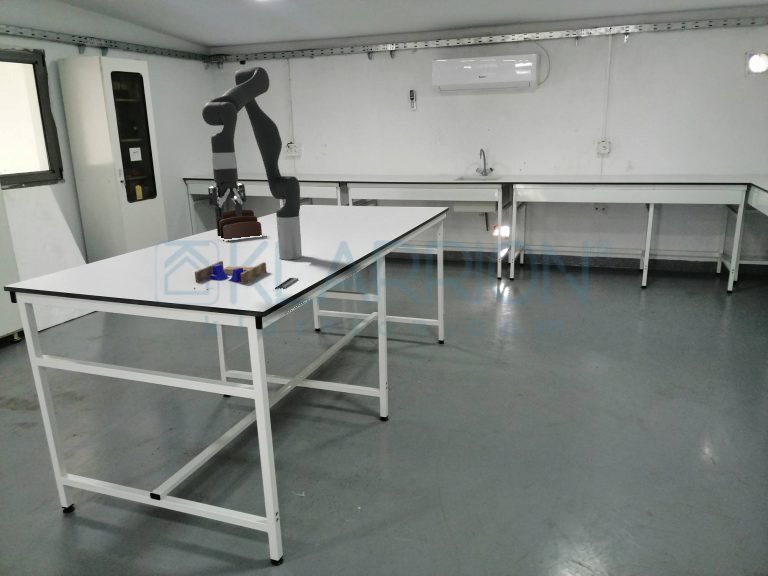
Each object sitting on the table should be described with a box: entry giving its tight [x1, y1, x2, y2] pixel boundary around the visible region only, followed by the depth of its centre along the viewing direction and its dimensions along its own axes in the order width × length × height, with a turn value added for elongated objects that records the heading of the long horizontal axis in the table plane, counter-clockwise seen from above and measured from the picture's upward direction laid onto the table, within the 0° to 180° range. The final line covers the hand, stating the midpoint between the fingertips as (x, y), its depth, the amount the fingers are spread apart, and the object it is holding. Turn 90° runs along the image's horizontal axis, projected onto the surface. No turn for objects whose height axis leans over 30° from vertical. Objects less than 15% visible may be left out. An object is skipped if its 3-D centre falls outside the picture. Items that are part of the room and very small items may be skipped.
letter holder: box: [215, 209, 263, 239], centre depth 278 cm, size 10×20×14 cm, turn 124°
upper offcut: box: [223, 265, 254, 276], centre depth 198 cm, size 5×11×2 cm, turn 79°
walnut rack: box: [194, 260, 268, 285], centre depth 193 cm, size 17×18×5 cm
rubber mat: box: [275, 277, 299, 289], centre depth 189 cm, size 12×11×1 cm
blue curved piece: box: [209, 264, 243, 283], centre depth 189 cm, size 12×4×6 cm, turn 56°
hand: (229, 217), depth 183 cm, fingers open, 8 cm apart
